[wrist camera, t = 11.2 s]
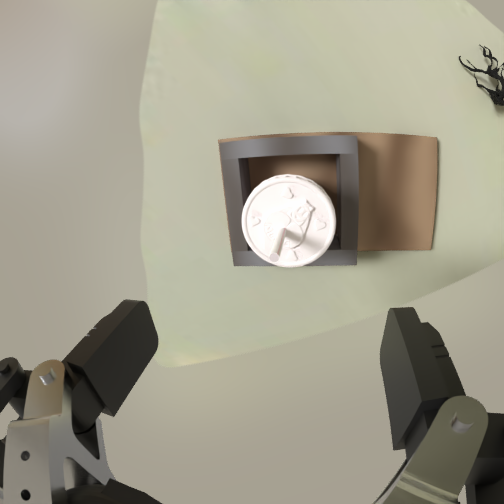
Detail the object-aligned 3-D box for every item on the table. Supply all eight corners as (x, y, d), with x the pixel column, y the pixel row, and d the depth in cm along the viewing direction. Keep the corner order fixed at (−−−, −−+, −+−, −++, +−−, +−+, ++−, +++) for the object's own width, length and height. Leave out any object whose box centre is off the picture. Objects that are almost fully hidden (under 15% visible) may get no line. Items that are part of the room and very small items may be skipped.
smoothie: (249, 194, 28) (198, 249, 16) (294, 147, 26) (278, 161, 13) (296, 237, 29) (282, 321, 17) (342, 194, 26) (368, 252, 14)
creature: (449, 44, 19) (466, 106, 20) (467, 22, 14) (491, 92, 15) (498, 58, 17) (514, 117, 18) (518, 42, 12) (540, 108, 13)
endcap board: (433, 137, 23) (455, 139, 18) (427, 246, 28) (444, 265, 23) (220, 139, 27) (204, 141, 23) (233, 248, 32) (221, 268, 28)
